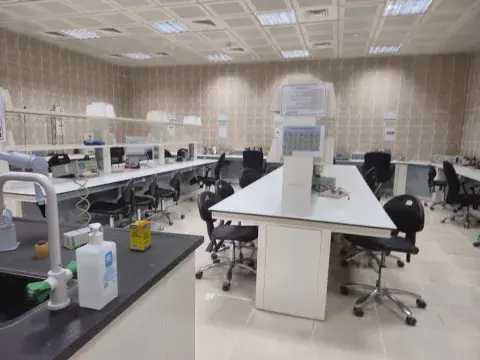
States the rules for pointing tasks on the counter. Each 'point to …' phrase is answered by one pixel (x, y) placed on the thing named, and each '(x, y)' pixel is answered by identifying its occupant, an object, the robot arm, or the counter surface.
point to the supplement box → (140, 235)
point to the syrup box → (77, 238)
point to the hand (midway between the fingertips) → (46, 217)
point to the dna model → (82, 197)
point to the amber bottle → (42, 249)
